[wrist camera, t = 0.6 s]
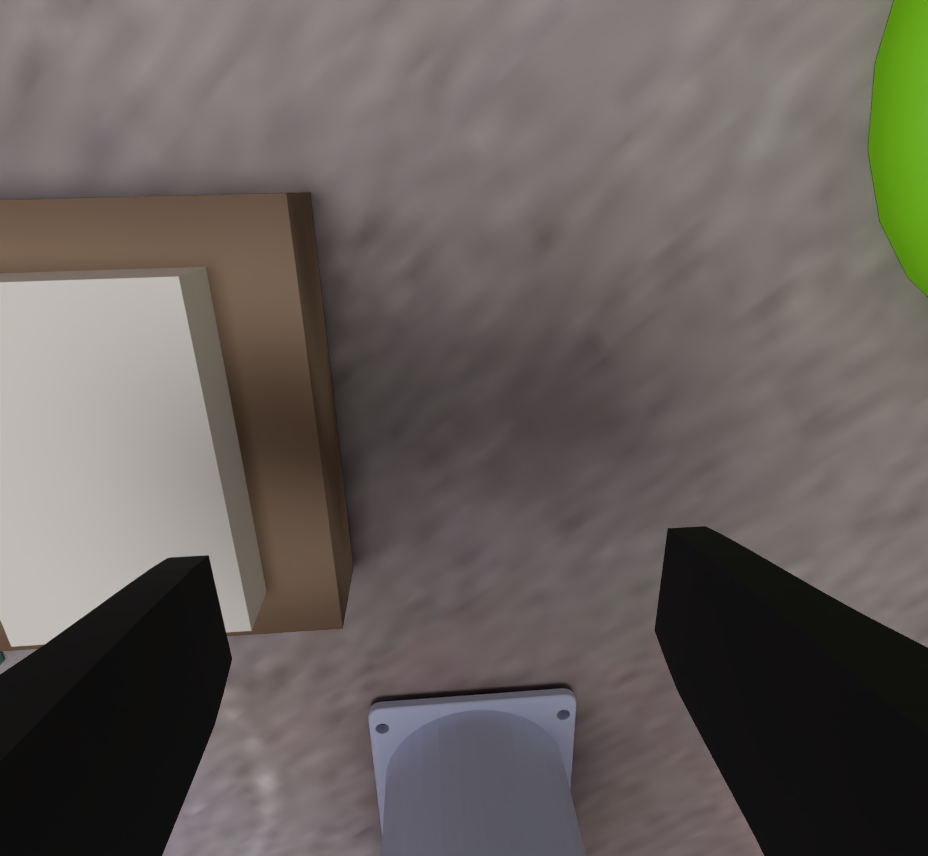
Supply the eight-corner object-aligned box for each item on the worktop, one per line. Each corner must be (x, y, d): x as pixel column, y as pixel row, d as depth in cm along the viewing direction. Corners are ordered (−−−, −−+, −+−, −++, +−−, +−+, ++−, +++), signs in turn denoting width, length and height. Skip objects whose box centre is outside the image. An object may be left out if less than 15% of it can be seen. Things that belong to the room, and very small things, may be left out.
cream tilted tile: (266, 591, 17) (251, 631, 15) (48, 604, 16) (11, 646, 15) (205, 266, 13) (178, 276, 12) (-73, 275, 13) (-138, 286, 11)
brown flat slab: (353, 567, 20) (342, 628, 17) (-10, 589, 19) (-81, 656, 17) (309, 192, 15) (285, 192, 13) (-168, 204, 15) (-303, 207, 12)
